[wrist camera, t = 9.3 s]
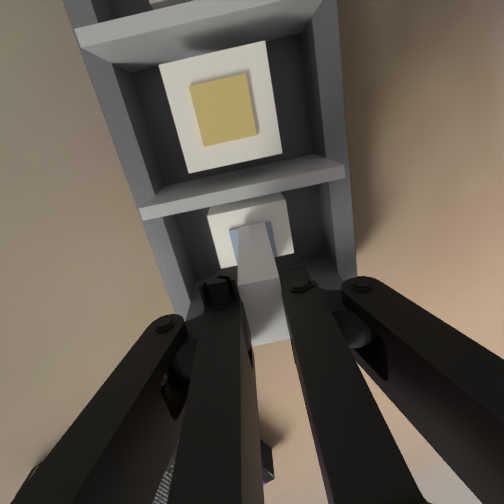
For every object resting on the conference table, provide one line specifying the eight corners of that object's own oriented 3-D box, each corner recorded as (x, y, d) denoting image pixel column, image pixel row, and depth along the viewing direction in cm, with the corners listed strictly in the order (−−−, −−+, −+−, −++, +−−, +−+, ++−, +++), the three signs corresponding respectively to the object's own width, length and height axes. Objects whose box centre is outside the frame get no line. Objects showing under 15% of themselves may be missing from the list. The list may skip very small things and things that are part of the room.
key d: (195, 167, 16) (188, 174, 14) (171, 74, 15) (157, 64, 12) (276, 149, 16) (283, 153, 14) (260, 53, 14) (265, 39, 12)
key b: (226, 267, 21) (225, 286, 18) (210, 205, 19) (206, 217, 16) (290, 254, 20) (297, 272, 18) (279, 190, 19) (286, 200, 16)
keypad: (185, 297, 23) (168, 352, 17) (-45, -386, 11) (-322, -891, 6) (343, 265, 22) (377, 311, 17) (273, -480, 11) (311, -1126, 5)
